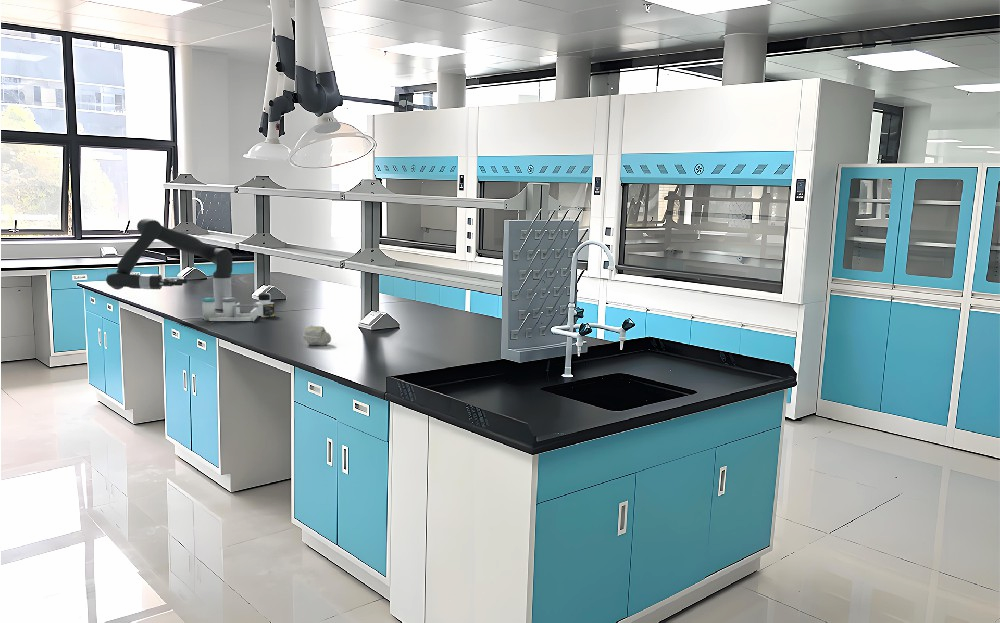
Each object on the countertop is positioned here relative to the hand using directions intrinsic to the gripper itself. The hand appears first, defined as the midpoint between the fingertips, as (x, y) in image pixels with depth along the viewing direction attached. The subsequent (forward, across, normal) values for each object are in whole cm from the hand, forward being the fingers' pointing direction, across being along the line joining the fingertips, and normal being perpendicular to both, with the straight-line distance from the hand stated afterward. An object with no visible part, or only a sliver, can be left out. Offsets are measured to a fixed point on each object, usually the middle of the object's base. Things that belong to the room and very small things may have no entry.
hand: (184, 282), depth 384 cm
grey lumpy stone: (+70, -63, +19) cm, 96 cm away
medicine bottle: (+37, +11, +19) cm, 43 cm away
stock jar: (+21, 0, +19) cm, 28 cm away
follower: (+30, 0, +19) cm, 36 cm away
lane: (+23, 0, +19) cm, 30 cm away
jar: (+11, 0, +19) cm, 22 cm away
